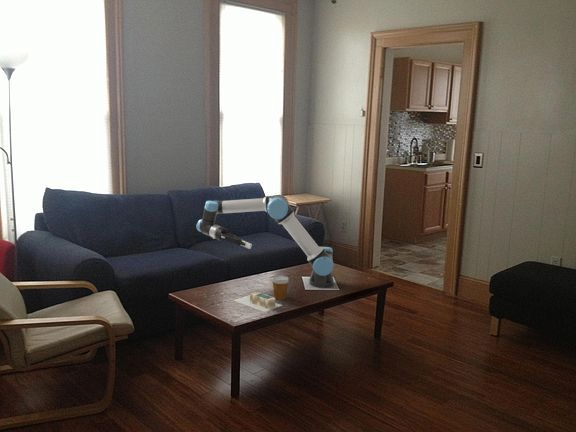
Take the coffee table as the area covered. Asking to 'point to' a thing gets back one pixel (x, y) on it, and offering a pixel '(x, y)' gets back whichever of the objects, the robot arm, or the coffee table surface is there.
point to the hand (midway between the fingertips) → (250, 246)
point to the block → (262, 300)
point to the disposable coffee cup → (280, 287)
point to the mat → (246, 301)
